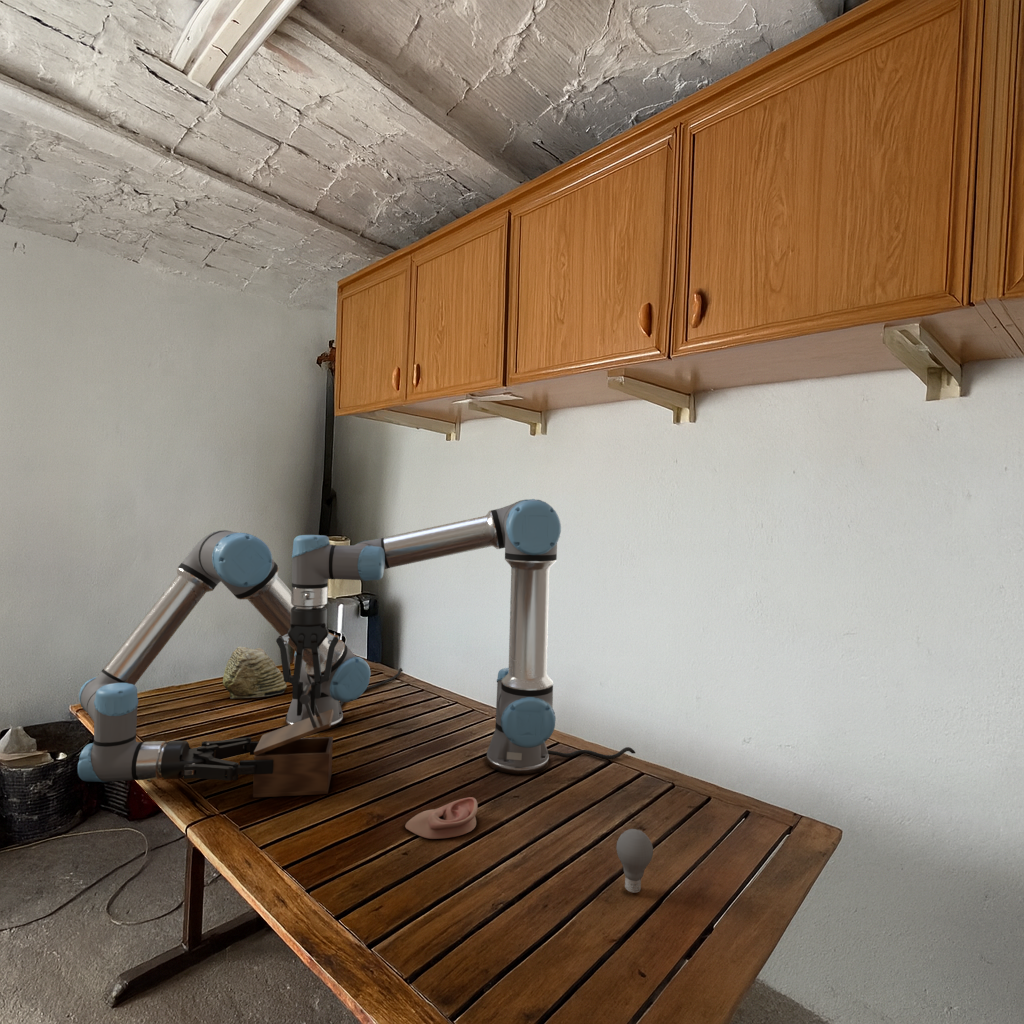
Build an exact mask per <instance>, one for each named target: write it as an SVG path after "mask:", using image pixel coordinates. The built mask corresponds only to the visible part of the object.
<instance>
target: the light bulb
mask: <svg viewBox="0 0 1024 1024" xmlns="http://www.w3.org/2000/svg"><path fill="white" fill-rule="evenodd" d="M615 849H616V854H617V857H618V859H619V861H620V863H621V865H622V867H623V873H624V874H623V875H624V876H625V878H624V888H625V890H627V891H628V892H630V893H634V894H635V893H639V892H640V891H641V889H642V887H641V886H642V879H643V877H644V875H645V871H646V868H647V867H648V866H649V864H650V863H651V861H652V859H653V855H654V847H653V843H652V841H651V838H649V836H648V835H647V834H646V833H645V832H643V831H642V830H641V829H636V828H629V829H627V830H625V831H623V832H622V833H621V834H620V835H619V837H618V839H617V841H616V847H615Z"/></svg>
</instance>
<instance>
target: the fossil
mask: <svg viewBox="0 0 1024 1024" xmlns="http://www.w3.org/2000/svg"><path fill="white" fill-rule="evenodd" d="M222 676H223V677H222V685H223V687H224V688H225V690H226V691H228V693H229V698H230V699H250V698H264V697H271V696H275V695H281V694H284V693H285V691H286V689H287V687H288V686H287V682H284V678H283V672H281V669H279V668H278V667H277V665H276V663H275V662H274V660H273V659H272V658H271V657H270V656H269V655H268V654H267V653H266V652H265V650H264V649H263V648H260V647H258V648H251V647H247V646H246V647H245V646H238V647H237V648H236V649H235V650H233V651H232V653H231V656H230V657H229V659H228V660H227V663H226V666H225V668H224V671H223V675H222Z"/></svg>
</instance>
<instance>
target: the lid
mask: <svg viewBox="0 0 1024 1024" xmlns="http://www.w3.org/2000/svg"><path fill="white" fill-rule="evenodd" d="M310 700H311V685H310V684H308V685H306V686H305V688H304V690H303V692H302V695H301V697H300V702H301V703H302V704H305V706H306V709H307V712H308V715H309V717H310V718H307V719H304V720H302V721H299V722H296V723H293V724H291V725H288V726H286V725H285V726H283V727H281V728H277V729H275V730H272V731H270V732H267V733H264V734H262V735H261V737H260V739H259V743H258V745H257V747H256V749H255V751H254V754H255V755H254V756H256V755H258V754H261V753H264V752H266V751H269V750H272V749H274V748H277V747H280V746H282V745H285V744H288V743H290V742H293V741H296V740H298V739H301V738H307V737H308V736H311V735H314V734H317V733H320V732H323V731H322V730H325V729H327V728H330V726H331V722H332V718H333V714H334V711H333V709H331V710H328V711H326V712H323V713H320V714H319V711H318V708H317V706H316V707H315V714H316V715H315V716H313V714H312V711H311V708H310V705H309V701H310ZM325 731H326V730H325Z"/></svg>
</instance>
